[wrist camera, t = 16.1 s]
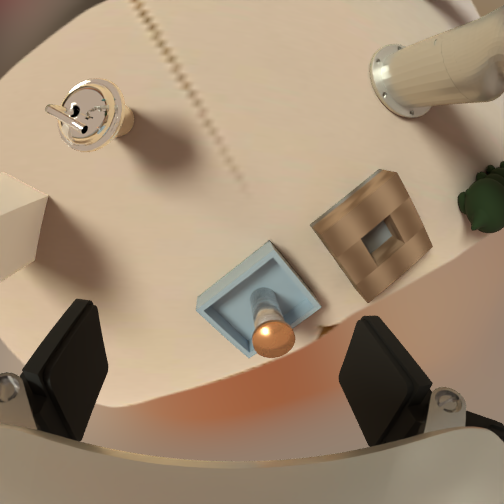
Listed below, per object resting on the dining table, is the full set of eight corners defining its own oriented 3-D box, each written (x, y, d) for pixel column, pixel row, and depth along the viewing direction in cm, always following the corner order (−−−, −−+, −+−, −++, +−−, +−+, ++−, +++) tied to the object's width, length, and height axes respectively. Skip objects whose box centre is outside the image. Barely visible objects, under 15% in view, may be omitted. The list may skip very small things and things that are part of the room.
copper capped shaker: (265, 277, 44) (278, 316, 33) (286, 299, 45) (303, 341, 35) (238, 297, 44) (243, 340, 34) (259, 319, 46) (269, 364, 36)
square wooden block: (379, 169, 41) (396, 172, 36) (415, 237, 45) (432, 246, 40) (309, 224, 43) (320, 234, 38) (354, 288, 47) (367, 303, 42)
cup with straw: (130, 81, 33) (61, 36, 14) (160, 129, 36) (104, 114, 17) (83, 117, 34) (-6, 106, 15) (112, 165, 37) (30, 183, 18)
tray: (269, 240, 43) (273, 249, 39) (314, 294, 47) (321, 307, 43) (197, 297, 45) (195, 310, 41) (246, 343, 49) (248, 358, 45)
